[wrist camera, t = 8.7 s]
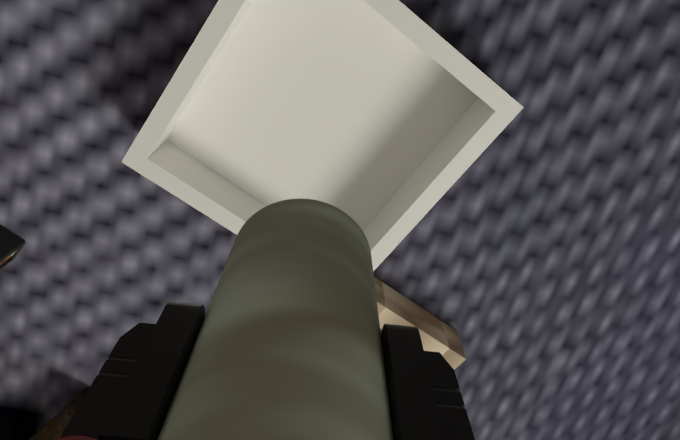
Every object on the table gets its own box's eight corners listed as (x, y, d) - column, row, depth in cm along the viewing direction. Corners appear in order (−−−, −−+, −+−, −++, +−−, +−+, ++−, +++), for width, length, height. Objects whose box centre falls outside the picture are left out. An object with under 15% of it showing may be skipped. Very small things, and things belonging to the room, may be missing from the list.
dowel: (381, 206, 14) (464, 637, 5) (361, 324, 16) (392, 805, 6) (234, 190, 14) (31, 609, 5) (230, 311, 15) (76, 790, 6)
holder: (456, 331, 37) (466, 358, 34) (382, 400, 40) (386, 431, 37) (365, 270, 34) (367, 295, 32) (294, 349, 37) (290, 378, 35)
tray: (500, 91, 29) (523, 107, 26) (344, 268, 34) (344, 302, 31) (288, -91, 25) (279, -102, 22) (147, 140, 30) (121, 162, 27)
